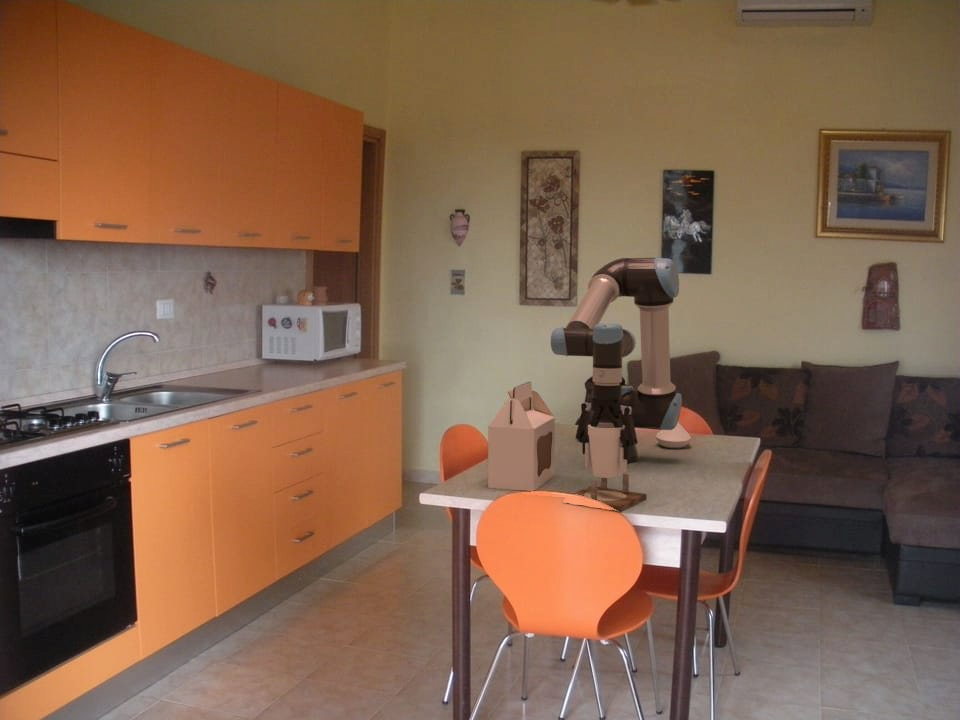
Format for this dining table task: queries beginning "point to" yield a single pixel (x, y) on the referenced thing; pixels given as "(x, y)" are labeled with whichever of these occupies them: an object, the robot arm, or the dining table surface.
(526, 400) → the gable box
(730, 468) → the dining table surface
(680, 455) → the dining table surface
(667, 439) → the spoon rest
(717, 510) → the dining table surface
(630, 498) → the pin board
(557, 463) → the dining table surface
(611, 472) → the foam cup
